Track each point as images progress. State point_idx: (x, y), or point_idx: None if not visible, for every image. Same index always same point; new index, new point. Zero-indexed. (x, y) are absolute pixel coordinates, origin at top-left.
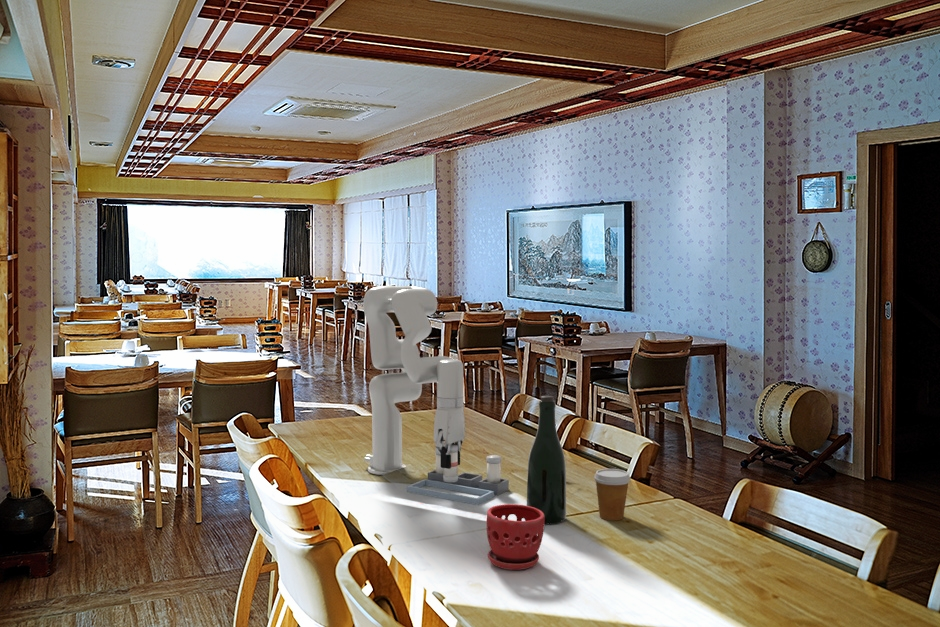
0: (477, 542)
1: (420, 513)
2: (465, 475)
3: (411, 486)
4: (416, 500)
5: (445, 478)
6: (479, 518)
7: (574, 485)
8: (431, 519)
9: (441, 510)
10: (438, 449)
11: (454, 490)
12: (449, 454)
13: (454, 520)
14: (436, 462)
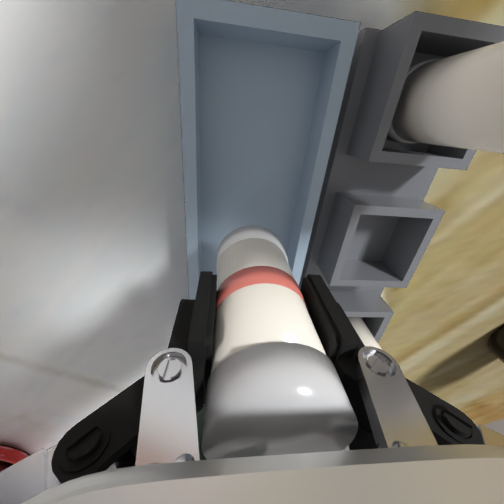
0: (13, 401)
1: (48, 213)
2: (423, 219)
3: (187, 30)
4: (162, 107)
5: (217, 256)
6: (141, 350)
7: (448, 385)
8: (35, 270)
9: (127, 253)
10: (71, 431)
11: (296, 219)
12: (204, 395)
13: (83, 318)
14: (478, 65)
